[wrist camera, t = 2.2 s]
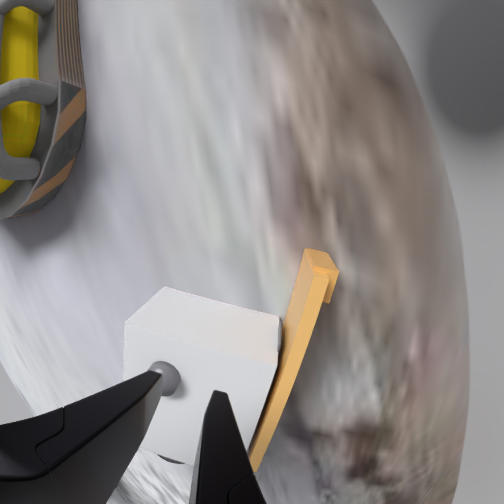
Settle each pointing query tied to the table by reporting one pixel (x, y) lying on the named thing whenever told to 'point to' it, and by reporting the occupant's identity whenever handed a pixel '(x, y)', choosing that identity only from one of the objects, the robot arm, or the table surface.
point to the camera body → (200, 365)
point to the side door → (293, 344)
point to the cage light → (38, 101)
